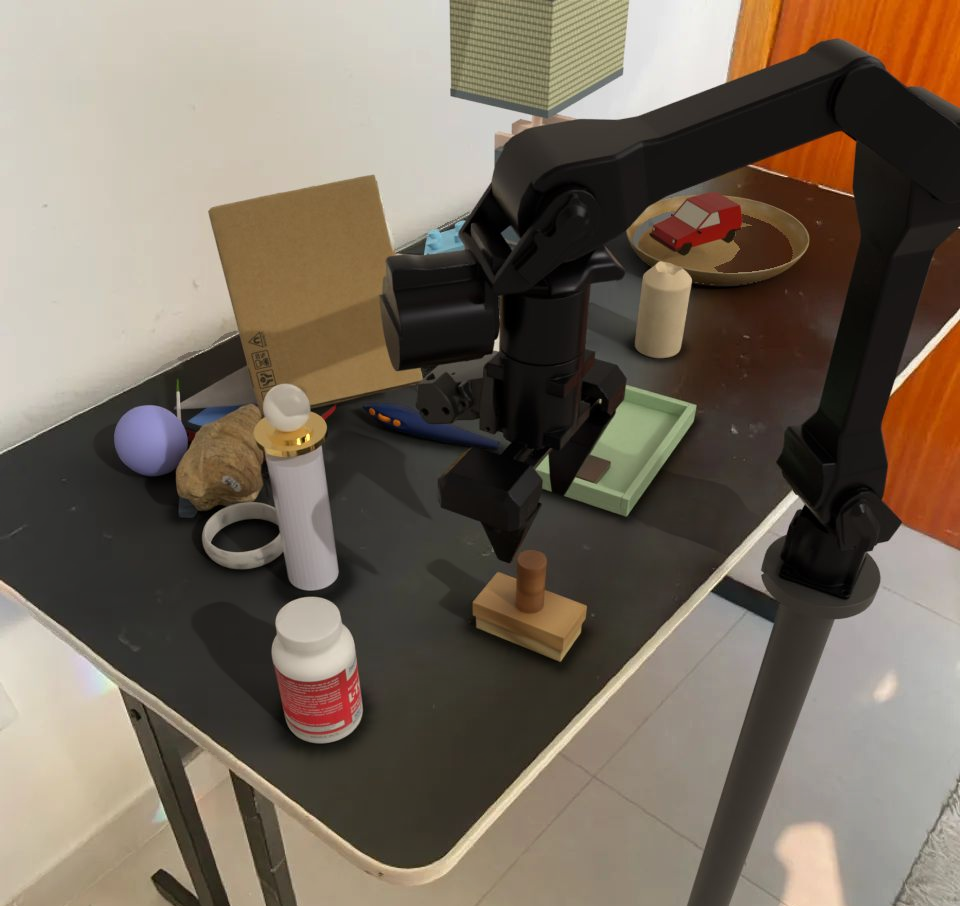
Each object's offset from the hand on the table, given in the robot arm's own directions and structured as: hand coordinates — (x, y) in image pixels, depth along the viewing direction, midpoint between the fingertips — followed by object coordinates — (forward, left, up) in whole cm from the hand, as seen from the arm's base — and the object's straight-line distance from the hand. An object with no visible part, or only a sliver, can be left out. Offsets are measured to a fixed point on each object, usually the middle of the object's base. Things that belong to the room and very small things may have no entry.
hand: (532, 525), depth 77 cm
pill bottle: (+10, +16, -12) cm, 22 cm away
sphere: (+40, -4, -9) cm, 41 cm away
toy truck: (+12, -70, -8) cm, 72 cm away
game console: (+40, -14, -12) cm, 44 cm away
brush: (0, 0, -12) cm, 12 cm away
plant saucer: (+10, -76, -12) cm, 78 cm away
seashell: (+37, -4, -10) cm, 39 cm away
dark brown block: (+5, -22, -11) cm, 26 cm away
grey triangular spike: (+47, -9, -10) cm, 49 cm away
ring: (+28, +2, -12) cm, 31 cm away
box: (+35, -21, +1) cm, 41 cm away
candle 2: (+8, -50, -12) cm, 52 cm away
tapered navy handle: (+22, -21, -12) cm, 33 cm away
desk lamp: (+33, -66, -12) cm, 74 cm away
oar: (+41, -5, -10) cm, 43 cm away
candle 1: (+20, +3, -12) cm, 24 cm away
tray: (+5, -28, -12) cm, 31 cm away
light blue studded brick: (+38, -51, -4) cm, 64 cm away
